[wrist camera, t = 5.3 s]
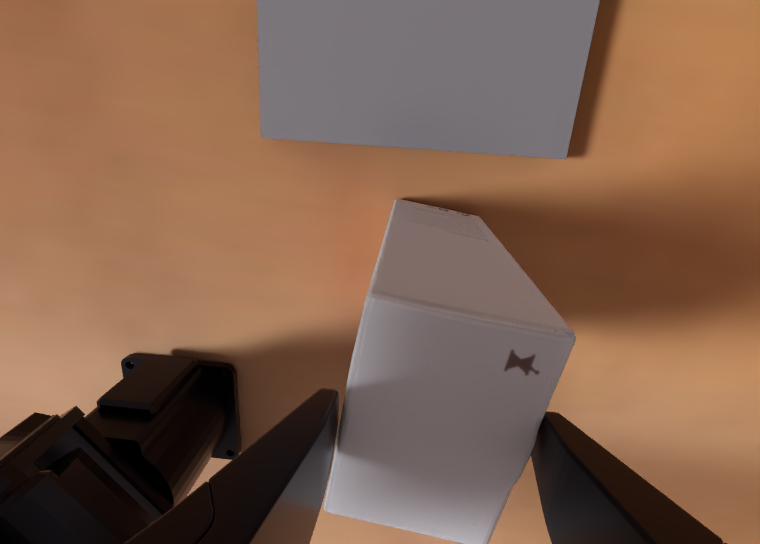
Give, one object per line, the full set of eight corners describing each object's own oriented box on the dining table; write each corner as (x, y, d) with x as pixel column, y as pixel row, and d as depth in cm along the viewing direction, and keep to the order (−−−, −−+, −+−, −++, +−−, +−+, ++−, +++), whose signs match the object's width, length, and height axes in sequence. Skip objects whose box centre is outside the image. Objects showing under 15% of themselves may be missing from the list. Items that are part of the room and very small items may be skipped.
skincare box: (393, 195, 19) (365, 283, 7) (480, 215, 19) (591, 332, 7) (368, 309, 21) (317, 518, 9) (447, 327, 21) (494, 557, 9)
